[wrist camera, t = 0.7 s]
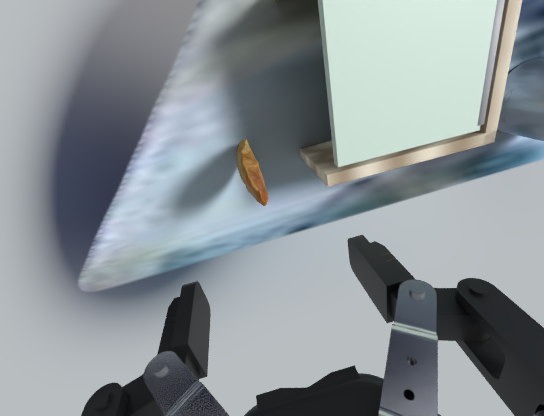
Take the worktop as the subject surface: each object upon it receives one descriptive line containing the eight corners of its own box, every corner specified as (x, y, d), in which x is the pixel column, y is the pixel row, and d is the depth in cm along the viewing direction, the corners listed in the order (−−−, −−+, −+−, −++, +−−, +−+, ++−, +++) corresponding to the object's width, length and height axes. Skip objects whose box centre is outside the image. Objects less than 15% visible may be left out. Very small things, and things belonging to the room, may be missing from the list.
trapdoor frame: (438, -52, 27) (543, -112, 18) (426, 125, 35) (494, 142, 27) (273, -15, 26) (299, -60, 17) (301, 157, 34) (328, 186, 26)
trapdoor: (505, -66, 19) (521, -73, 18) (475, 126, 26) (486, 128, 25) (314, -23, 19) (320, -29, 18) (333, 163, 25) (338, 167, 24)
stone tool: (258, 169, 34) (281, 230, 21) (240, 174, 34) (252, 238, 21) (247, 130, 32) (265, 171, 19) (228, 135, 32) (233, 180, 19)
